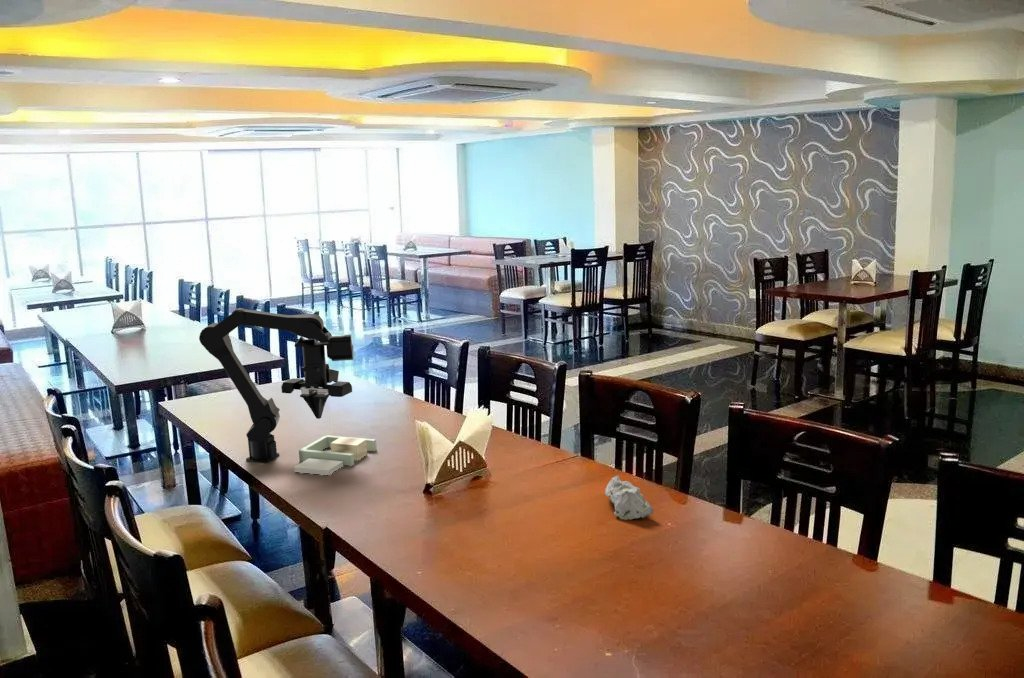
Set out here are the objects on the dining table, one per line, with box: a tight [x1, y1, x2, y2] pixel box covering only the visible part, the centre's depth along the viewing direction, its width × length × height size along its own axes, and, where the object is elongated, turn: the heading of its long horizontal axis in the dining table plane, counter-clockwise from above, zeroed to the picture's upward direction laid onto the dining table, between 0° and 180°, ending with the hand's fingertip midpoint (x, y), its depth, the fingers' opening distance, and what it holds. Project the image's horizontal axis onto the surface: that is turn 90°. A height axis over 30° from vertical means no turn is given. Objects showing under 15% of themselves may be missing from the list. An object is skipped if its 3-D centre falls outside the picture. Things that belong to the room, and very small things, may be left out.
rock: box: [604, 475, 654, 521], centre depth 179 cm, size 16×7×7 cm, turn 18°
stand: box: [293, 458, 344, 476], centre depth 210 cm, size 10×7×2 cm
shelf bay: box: [298, 434, 378, 467], centre depth 220 cm, size 16×13×3 cm
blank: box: [330, 436, 368, 462], centre depth 219 cm, size 8×5×4 cm, turn 70°
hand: (318, 418), depth 220 cm, fingers closed
